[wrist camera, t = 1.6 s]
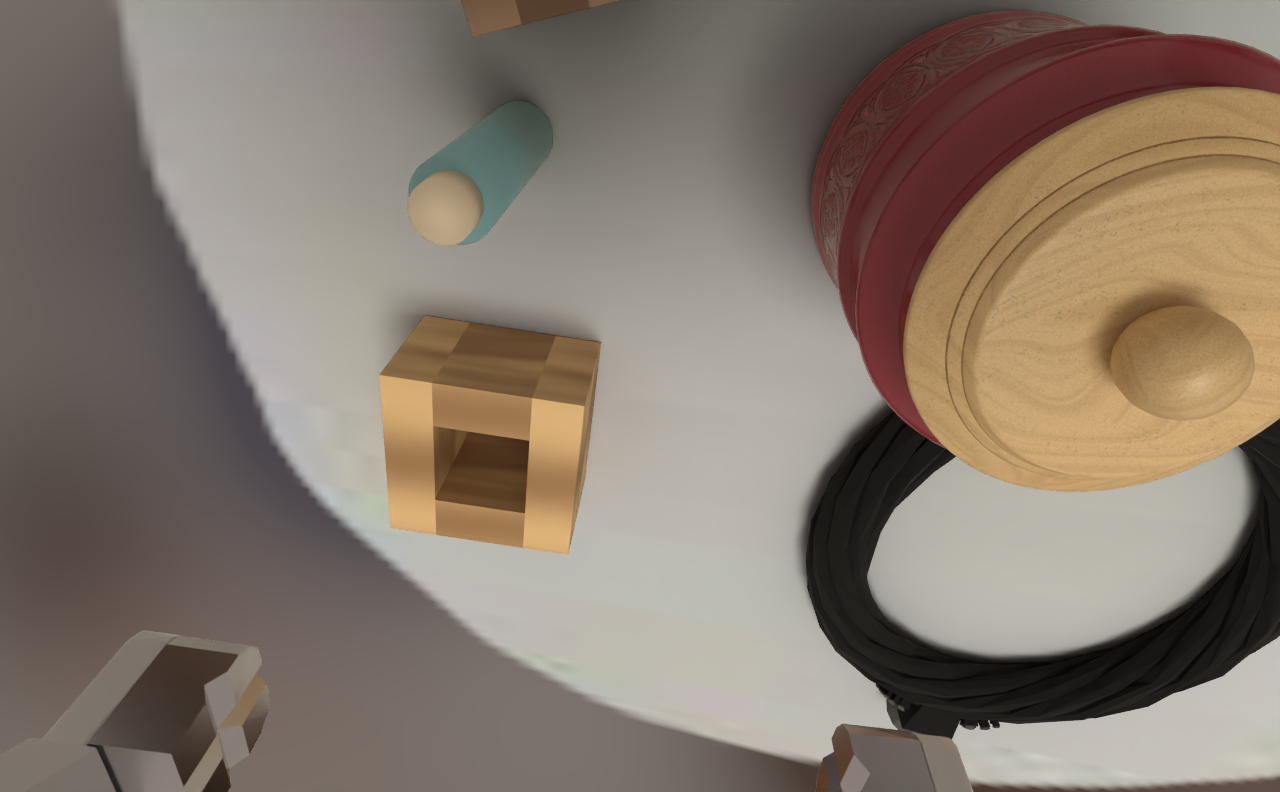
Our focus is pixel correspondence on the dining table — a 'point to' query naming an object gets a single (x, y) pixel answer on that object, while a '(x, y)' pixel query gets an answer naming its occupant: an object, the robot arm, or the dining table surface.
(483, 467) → the wooden square frame
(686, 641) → the dining table surface
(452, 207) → the teal peg
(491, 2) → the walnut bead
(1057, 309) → the canister
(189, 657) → the robot arm
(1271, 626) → the cable lock
